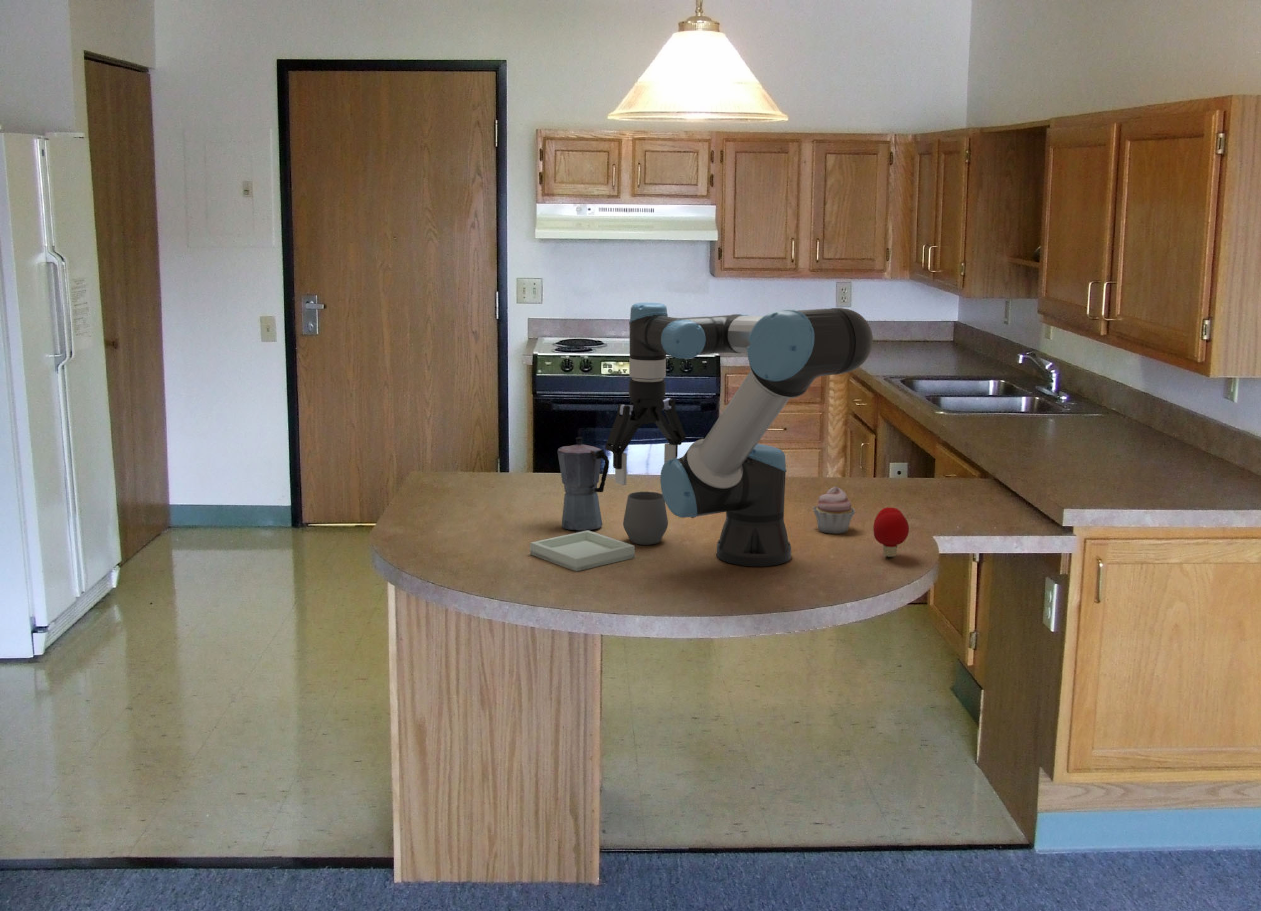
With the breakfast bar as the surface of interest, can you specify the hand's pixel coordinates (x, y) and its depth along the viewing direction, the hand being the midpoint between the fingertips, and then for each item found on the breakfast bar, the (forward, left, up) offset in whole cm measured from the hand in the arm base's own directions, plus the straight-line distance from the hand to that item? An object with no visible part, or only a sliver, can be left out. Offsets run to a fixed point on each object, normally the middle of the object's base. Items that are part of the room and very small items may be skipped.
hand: (645, 479), depth 275 cm
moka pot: (+17, +3, -14) cm, 22 cm away
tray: (0, +17, -14) cm, 22 cm away
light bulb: (-40, -31, -14) cm, 53 cm away
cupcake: (-19, -38, -14) cm, 45 cm away
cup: (0, 0, -14) cm, 14 cm away
